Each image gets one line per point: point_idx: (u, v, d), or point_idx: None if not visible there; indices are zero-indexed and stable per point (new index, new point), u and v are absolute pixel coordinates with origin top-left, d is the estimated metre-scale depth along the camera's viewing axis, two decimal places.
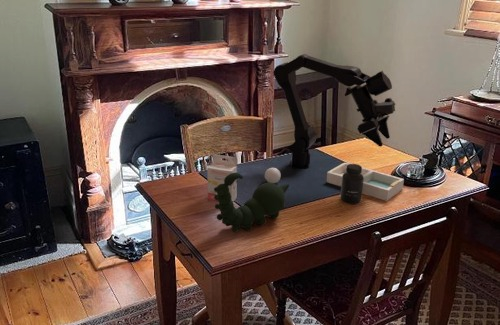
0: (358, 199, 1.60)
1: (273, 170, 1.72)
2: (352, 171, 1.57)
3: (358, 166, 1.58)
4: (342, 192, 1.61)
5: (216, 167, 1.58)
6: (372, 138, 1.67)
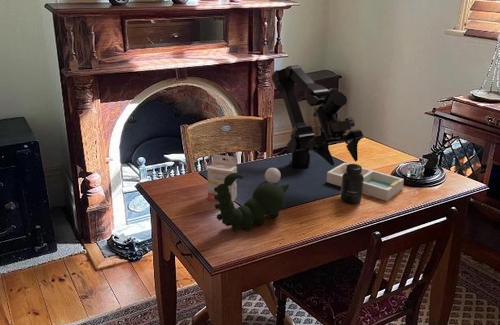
0: (358, 199, 1.60)
1: (273, 170, 1.72)
2: (352, 171, 1.57)
3: (358, 166, 1.58)
4: (342, 192, 1.61)
5: (216, 167, 1.58)
6: (324, 156, 1.62)
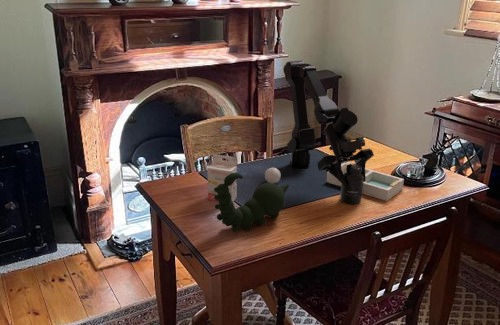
0: (358, 199, 1.60)
1: (273, 170, 1.72)
2: (352, 171, 1.57)
3: (358, 166, 1.58)
4: (342, 192, 1.61)
5: (216, 167, 1.58)
6: (336, 176, 1.59)
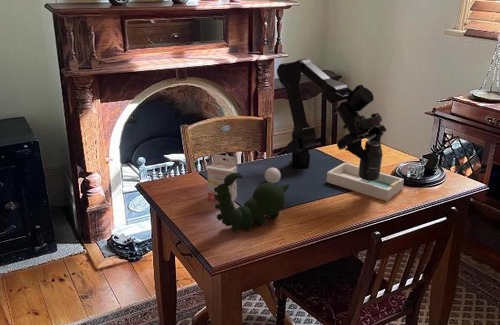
0: (378, 175, 1.61)
1: (273, 170, 1.72)
2: (373, 147, 1.58)
3: (376, 142, 1.60)
4: (362, 169, 1.61)
5: (216, 167, 1.58)
6: (356, 154, 1.59)
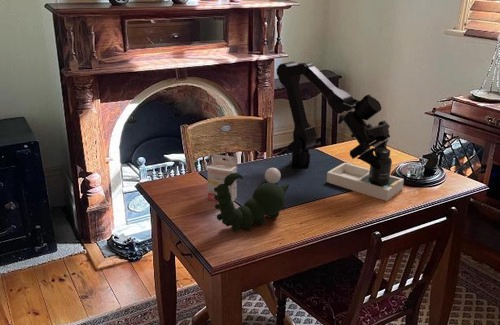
0: (388, 180, 1.67)
1: (273, 170, 1.72)
2: (384, 154, 1.63)
3: (386, 149, 1.66)
4: (374, 176, 1.66)
5: (216, 167, 1.58)
6: (369, 162, 1.64)
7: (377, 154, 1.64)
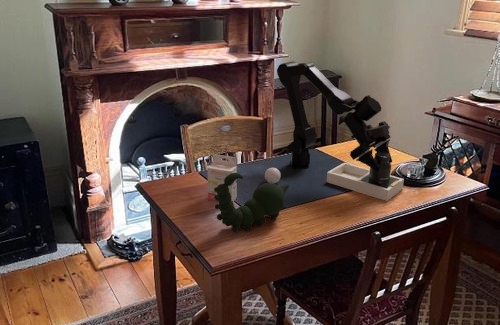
0: (388, 184, 1.68)
1: (273, 170, 1.72)
2: (383, 159, 1.64)
3: (385, 153, 1.66)
4: (373, 180, 1.67)
5: (216, 167, 1.58)
6: (368, 163, 1.63)
7: (376, 159, 1.65)
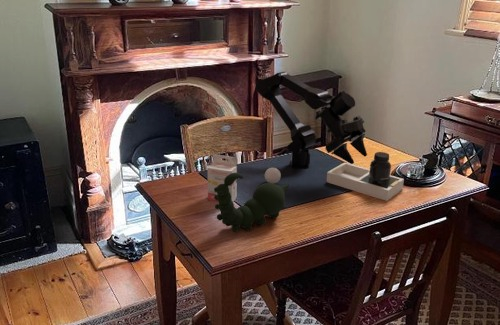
0: (388, 184, 1.68)
1: (273, 170, 1.72)
2: (383, 159, 1.64)
3: (385, 153, 1.66)
4: (373, 181, 1.67)
5: (216, 167, 1.58)
6: (342, 156, 1.69)
7: (376, 159, 1.65)
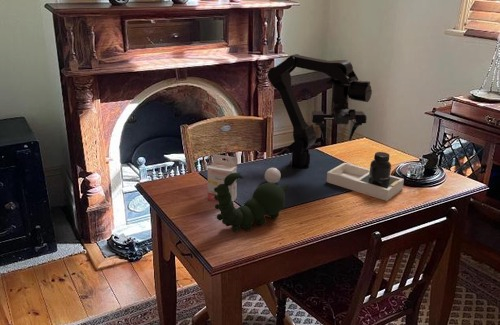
0: (388, 184, 1.68)
1: (273, 170, 1.72)
2: (383, 159, 1.64)
3: (385, 153, 1.66)
4: (373, 180, 1.67)
5: (216, 167, 1.58)
6: (320, 129, 1.78)
7: (376, 159, 1.65)
